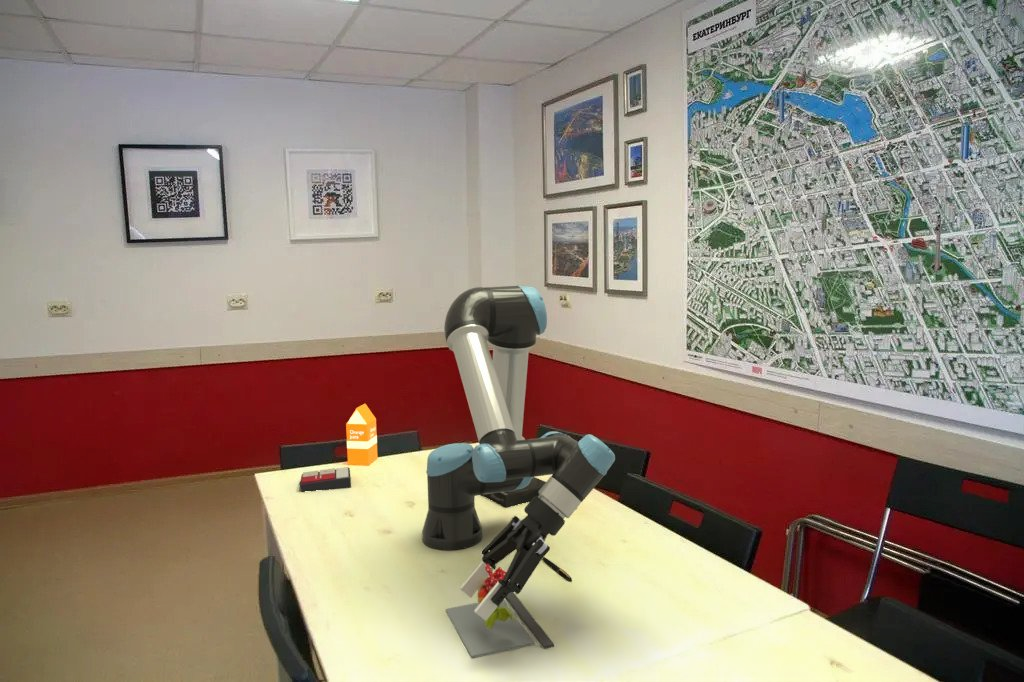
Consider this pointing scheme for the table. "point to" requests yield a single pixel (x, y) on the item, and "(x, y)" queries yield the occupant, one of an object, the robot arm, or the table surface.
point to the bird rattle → (486, 587)
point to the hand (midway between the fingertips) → (472, 603)
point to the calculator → (326, 479)
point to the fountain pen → (557, 569)
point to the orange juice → (361, 437)
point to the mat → (496, 629)
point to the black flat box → (517, 494)
